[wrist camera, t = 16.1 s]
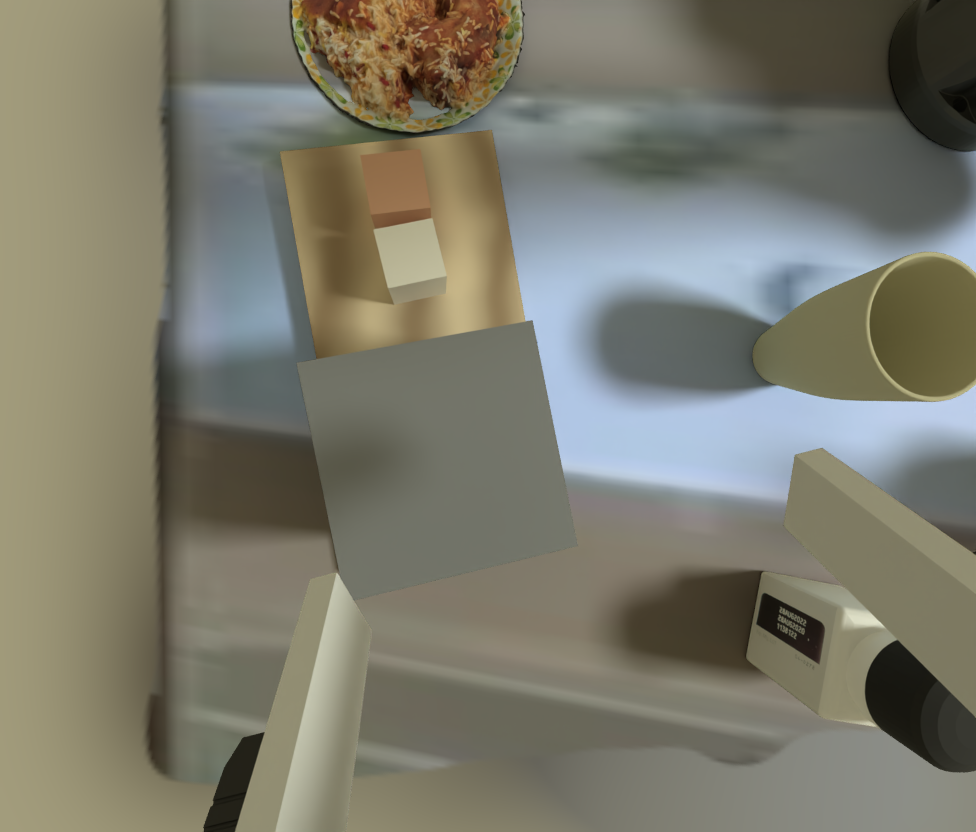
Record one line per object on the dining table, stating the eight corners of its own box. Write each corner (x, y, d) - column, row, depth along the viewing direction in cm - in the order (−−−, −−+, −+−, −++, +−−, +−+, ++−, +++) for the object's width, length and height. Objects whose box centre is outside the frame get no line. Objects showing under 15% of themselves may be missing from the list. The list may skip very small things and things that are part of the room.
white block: (433, 242, 33) (432, 218, 29) (445, 293, 33) (446, 275, 29) (381, 253, 33) (373, 229, 29) (394, 304, 33) (388, 288, 29)
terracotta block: (422, 181, 33) (420, 148, 29) (431, 233, 33) (430, 207, 29) (369, 187, 33) (360, 155, 29) (379, 240, 33) (370, 214, 29)
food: (339, 167, 34) (329, 142, 31) (264, -41, 34) (247, -86, 31) (549, 105, 36) (559, 76, 33) (478, -93, 36) (481, -141, 33)
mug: (787, 437, 38) (947, 443, 26) (709, 357, 37) (837, 326, 25) (864, 348, 39) (1052, 314, 27) (789, 268, 38) (949, 198, 26)
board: (489, 142, 35) (491, 130, 34) (557, 529, 35) (562, 534, 34) (286, 163, 33) (279, 151, 32) (359, 571, 34) (355, 578, 32)
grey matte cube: (502, 354, 34) (532, 320, 23) (532, 505, 34) (577, 546, 23) (345, 383, 32) (296, 362, 21) (377, 541, 32) (345, 602, 21)
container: (742, 658, 37) (905, 785, 24) (759, 569, 37) (929, 646, 24) (823, 672, 38) (1022, 802, 25) (839, 584, 38) (1044, 667, 25)
